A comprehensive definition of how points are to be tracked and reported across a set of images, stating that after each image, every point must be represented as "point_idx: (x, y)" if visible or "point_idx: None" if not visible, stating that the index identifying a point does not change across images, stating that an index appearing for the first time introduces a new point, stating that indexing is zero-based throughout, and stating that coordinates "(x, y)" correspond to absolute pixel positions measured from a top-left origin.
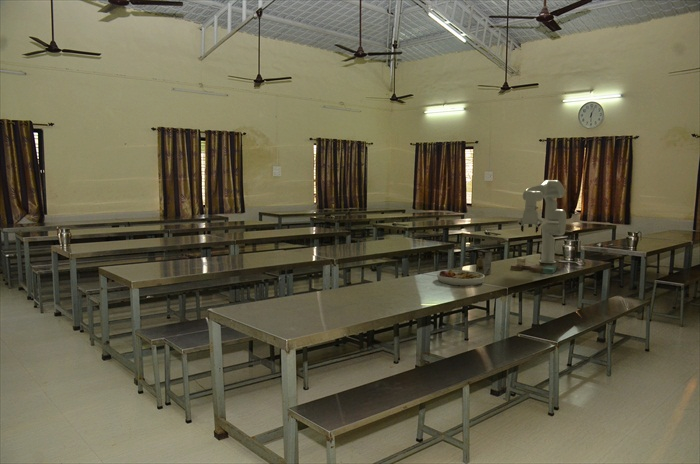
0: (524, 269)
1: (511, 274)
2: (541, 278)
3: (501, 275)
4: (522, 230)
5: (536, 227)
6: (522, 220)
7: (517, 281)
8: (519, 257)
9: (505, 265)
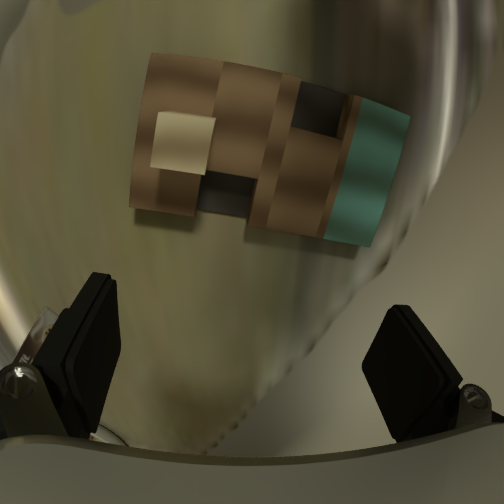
0: (214, 171)
1: (164, 325)
2: (292, 357)
3: (133, 355)
4: (112, 364)
5: (403, 437)
6: None
7: (208, 416)
8: (165, 122)
9: (94, 58)
